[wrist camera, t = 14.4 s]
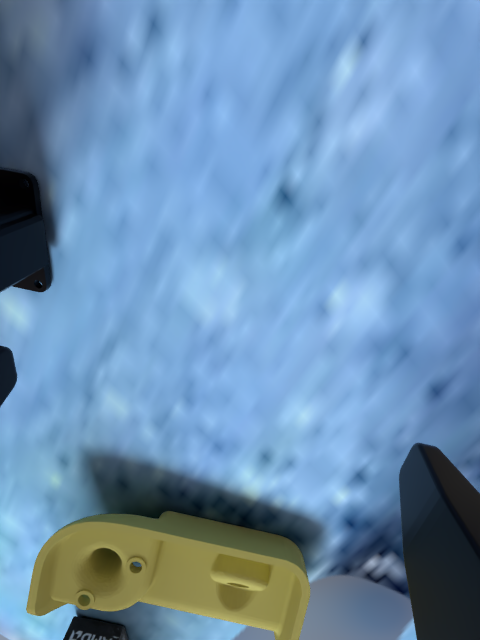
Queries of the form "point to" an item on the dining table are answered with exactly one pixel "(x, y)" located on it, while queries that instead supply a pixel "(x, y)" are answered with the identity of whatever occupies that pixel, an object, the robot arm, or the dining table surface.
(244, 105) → the dining table surface
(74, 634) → the graphics card box
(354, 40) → the dining table surface
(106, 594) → the plastic component
